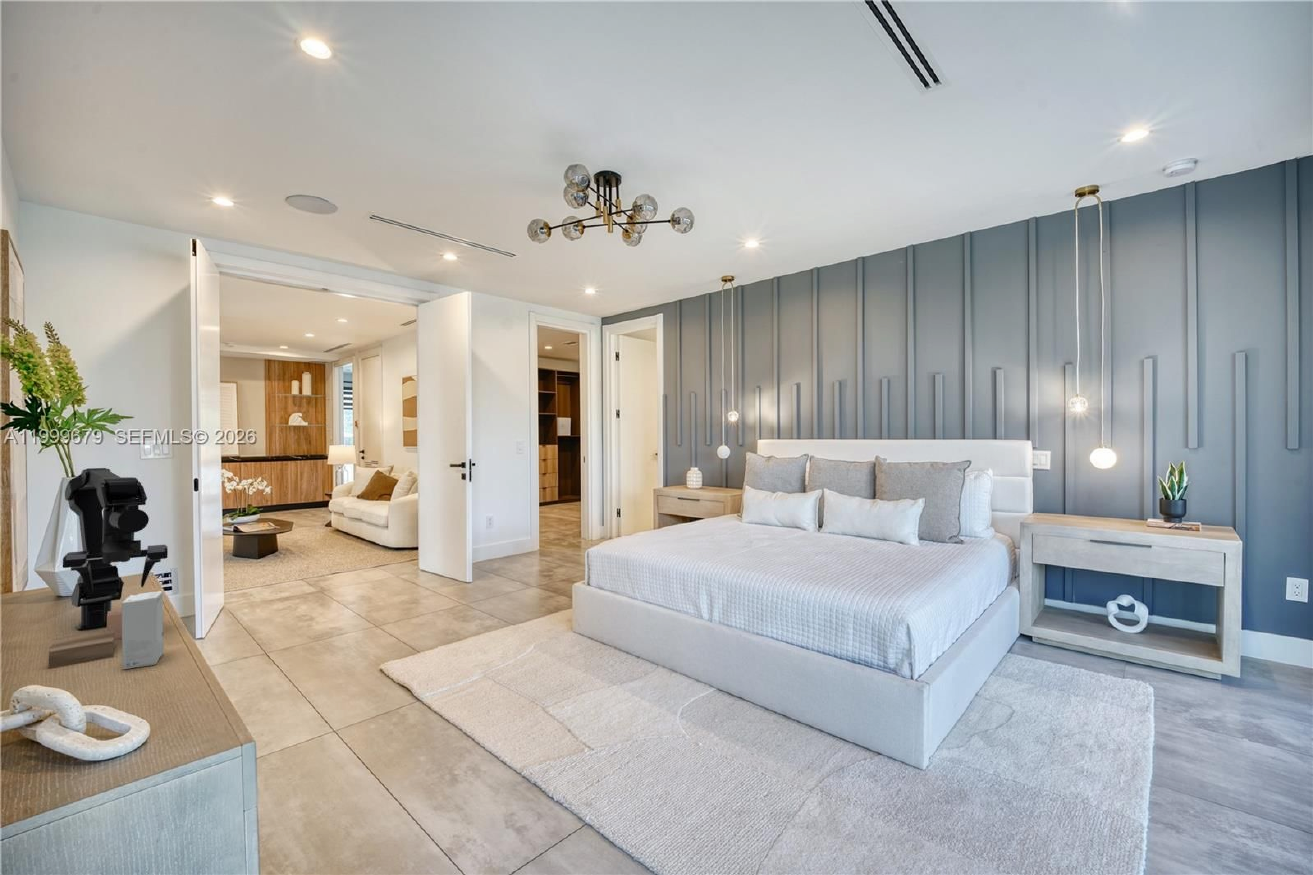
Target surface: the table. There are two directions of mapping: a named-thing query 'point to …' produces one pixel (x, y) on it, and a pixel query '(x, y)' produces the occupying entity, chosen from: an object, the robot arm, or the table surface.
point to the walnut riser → (81, 648)
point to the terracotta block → (115, 622)
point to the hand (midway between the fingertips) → (117, 589)
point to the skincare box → (142, 629)
